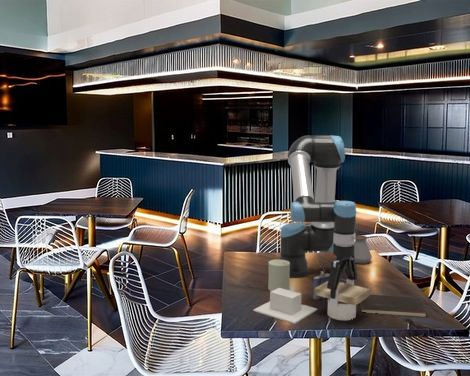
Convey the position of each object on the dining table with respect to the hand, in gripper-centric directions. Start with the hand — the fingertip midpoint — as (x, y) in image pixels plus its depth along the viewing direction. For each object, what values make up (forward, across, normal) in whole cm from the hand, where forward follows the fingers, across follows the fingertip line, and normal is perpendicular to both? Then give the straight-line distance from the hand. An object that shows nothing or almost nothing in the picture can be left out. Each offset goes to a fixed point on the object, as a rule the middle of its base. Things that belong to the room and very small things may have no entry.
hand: (341, 301), depth 173 cm
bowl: (+5, 0, 0) cm, 5 cm away
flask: (+5, +11, +14) cm, 19 cm away
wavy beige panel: (-2, 0, 0) cm, 2 cm away
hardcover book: (+6, +19, -11) cm, 23 cm away
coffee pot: (+5, +64, +27) cm, 70 cm away
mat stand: (+5, -10, +18) cm, 21 cm away
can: (+5, +8, +33) cm, 34 cm away
